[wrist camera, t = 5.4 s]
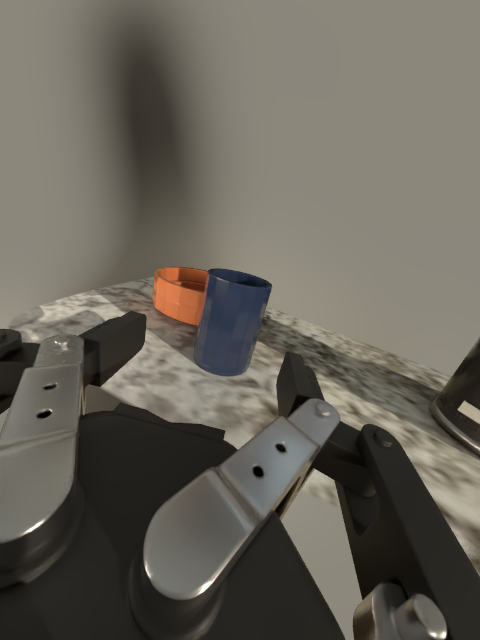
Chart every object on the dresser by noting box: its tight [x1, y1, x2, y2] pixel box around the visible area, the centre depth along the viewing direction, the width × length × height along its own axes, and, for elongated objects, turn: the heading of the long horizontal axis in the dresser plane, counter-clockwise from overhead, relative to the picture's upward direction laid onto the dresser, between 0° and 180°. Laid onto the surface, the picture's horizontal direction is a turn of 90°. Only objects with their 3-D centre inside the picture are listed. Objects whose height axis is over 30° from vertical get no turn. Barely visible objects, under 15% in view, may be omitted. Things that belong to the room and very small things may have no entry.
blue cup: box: [194, 269, 272, 376], centre depth 22 cm, size 6×6×9 cm
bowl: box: [152, 267, 208, 325], centre depth 35 cm, size 14×14×5 cm
